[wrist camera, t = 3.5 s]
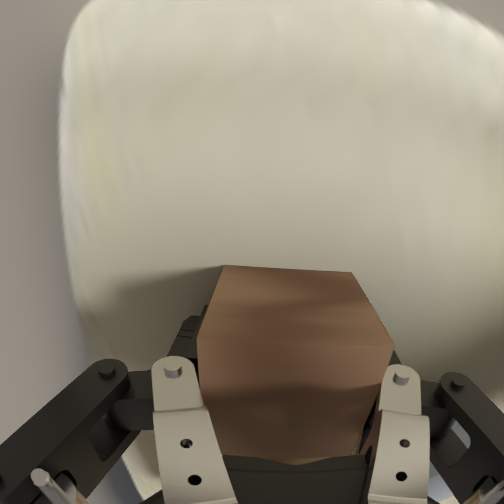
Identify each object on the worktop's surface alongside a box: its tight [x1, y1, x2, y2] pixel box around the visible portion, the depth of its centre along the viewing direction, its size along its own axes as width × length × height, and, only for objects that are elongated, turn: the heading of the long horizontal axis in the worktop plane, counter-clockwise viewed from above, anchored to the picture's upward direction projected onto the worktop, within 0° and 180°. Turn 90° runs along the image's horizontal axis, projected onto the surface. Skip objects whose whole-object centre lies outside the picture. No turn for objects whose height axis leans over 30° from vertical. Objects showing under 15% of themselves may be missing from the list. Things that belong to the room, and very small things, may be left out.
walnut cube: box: [197, 265, 395, 458], centre depth 10 cm, size 5×5×5 cm
